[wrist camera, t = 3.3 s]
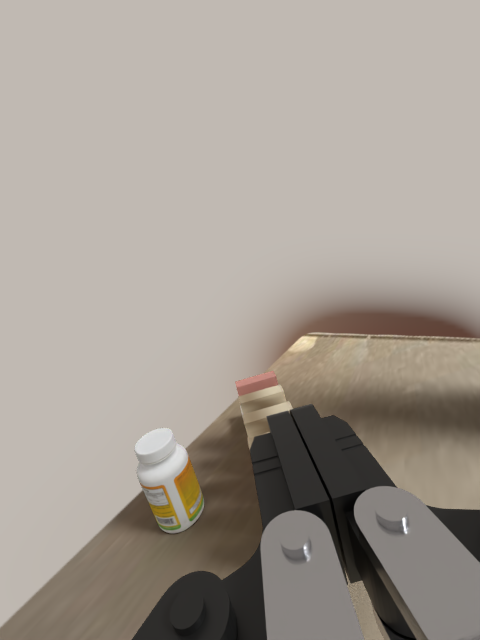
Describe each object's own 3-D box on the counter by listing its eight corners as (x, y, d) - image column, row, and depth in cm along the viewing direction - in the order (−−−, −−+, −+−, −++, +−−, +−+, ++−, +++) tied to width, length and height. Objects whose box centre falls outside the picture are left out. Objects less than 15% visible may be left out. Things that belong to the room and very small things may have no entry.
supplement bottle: (197, 483, 37) (173, 416, 34) (211, 516, 32) (184, 441, 29) (154, 507, 35) (125, 438, 32) (162, 545, 30) (128, 468, 27)
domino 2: (297, 454, 37) (280, 384, 34) (301, 463, 35) (283, 391, 33) (258, 466, 37) (238, 396, 34) (261, 476, 35) (239, 403, 33)
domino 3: (307, 478, 33) (289, 401, 31) (312, 489, 32) (293, 409, 29) (264, 491, 33) (242, 414, 30) (267, 503, 32) (244, 423, 29)
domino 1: (289, 435, 41) (273, 370, 38) (292, 443, 39) (276, 376, 36) (254, 446, 40) (235, 381, 38) (255, 454, 39) (236, 387, 36)
